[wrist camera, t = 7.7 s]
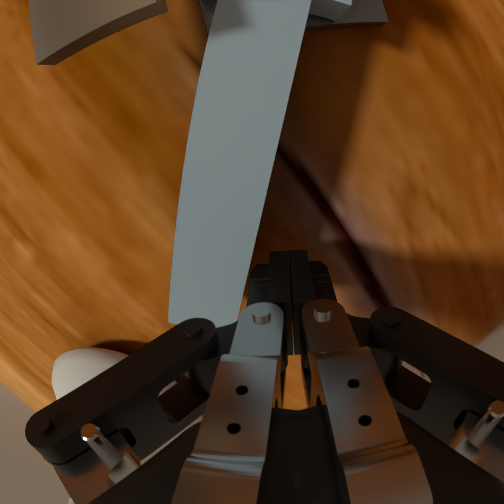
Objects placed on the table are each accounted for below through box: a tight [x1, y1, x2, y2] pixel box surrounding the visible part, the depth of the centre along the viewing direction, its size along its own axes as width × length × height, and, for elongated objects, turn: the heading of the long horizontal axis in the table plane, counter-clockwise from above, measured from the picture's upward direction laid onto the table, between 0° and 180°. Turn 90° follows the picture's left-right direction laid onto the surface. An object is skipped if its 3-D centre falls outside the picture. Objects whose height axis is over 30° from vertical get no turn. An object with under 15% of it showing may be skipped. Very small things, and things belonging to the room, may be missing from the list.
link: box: [168, 0, 352, 328], centre depth 9 cm, size 18×5×2 cm, turn 168°
